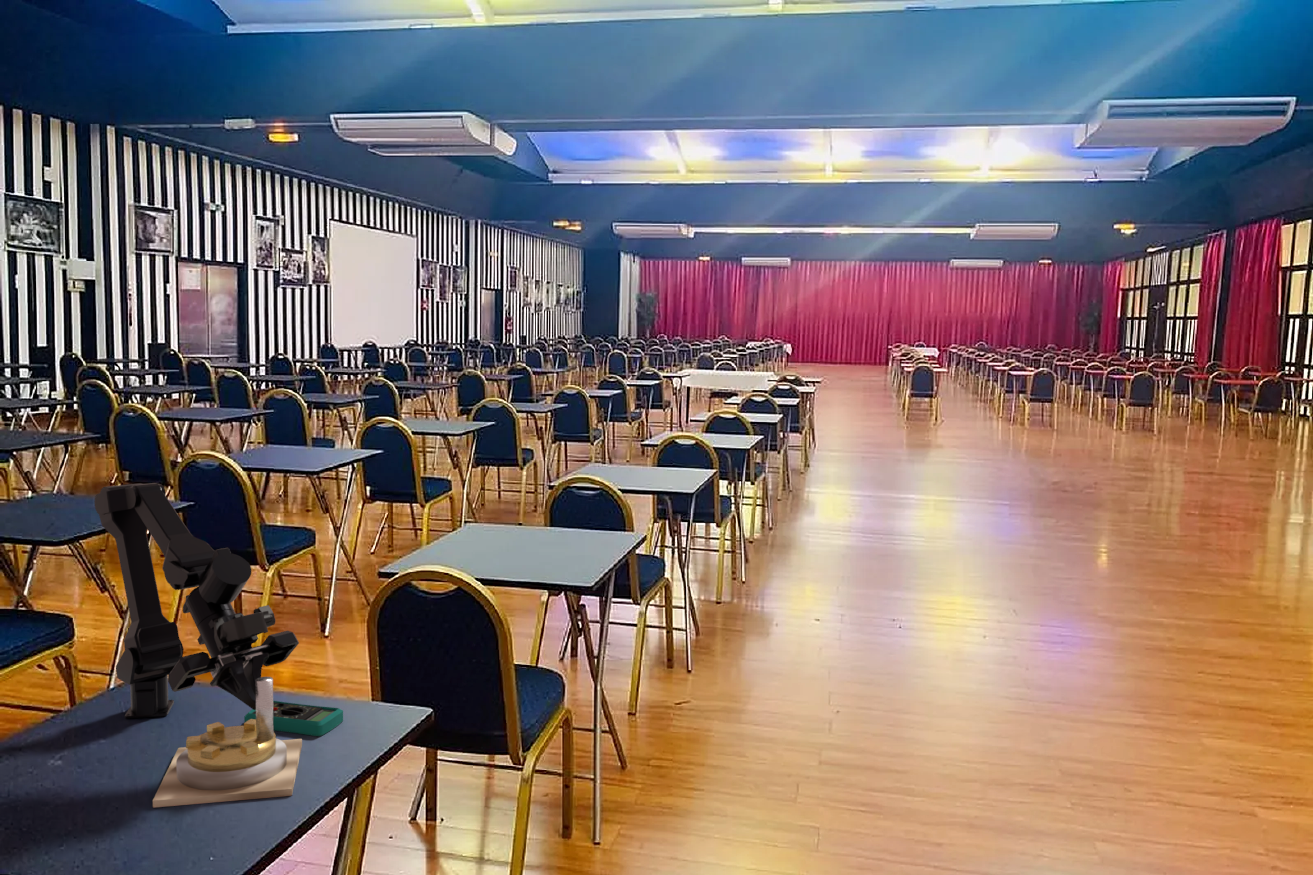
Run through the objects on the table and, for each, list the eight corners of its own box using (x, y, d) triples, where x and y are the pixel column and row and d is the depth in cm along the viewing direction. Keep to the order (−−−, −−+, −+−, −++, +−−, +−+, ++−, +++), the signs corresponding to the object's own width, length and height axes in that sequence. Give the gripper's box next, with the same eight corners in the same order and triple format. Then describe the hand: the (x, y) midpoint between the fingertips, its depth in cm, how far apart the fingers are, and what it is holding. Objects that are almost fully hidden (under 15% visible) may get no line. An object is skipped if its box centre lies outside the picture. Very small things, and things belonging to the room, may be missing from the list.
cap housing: (178, 754, 157) (178, 735, 157) (302, 744, 162) (301, 726, 162) (152, 807, 140) (152, 786, 140) (292, 795, 145) (291, 775, 144)
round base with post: (231, 732, 159) (230, 663, 157) (294, 746, 154) (293, 675, 153) (167, 763, 147) (165, 689, 146) (233, 778, 143) (232, 702, 142)
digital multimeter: (266, 713, 176) (266, 697, 175) (345, 723, 172) (345, 706, 172) (240, 729, 168) (240, 712, 168) (321, 740, 165) (321, 722, 165)
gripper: (177, 603, 146) (222, 697, 141) (291, 580, 161) (335, 664, 156) (149, 645, 151) (191, 737, 146) (262, 618, 166) (303, 701, 161)
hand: (258, 707), depth 152 cm, fingers closed, pressing on round base with post
